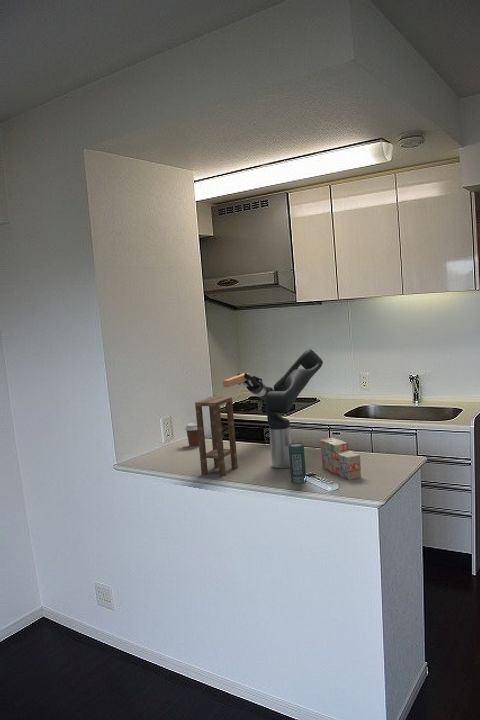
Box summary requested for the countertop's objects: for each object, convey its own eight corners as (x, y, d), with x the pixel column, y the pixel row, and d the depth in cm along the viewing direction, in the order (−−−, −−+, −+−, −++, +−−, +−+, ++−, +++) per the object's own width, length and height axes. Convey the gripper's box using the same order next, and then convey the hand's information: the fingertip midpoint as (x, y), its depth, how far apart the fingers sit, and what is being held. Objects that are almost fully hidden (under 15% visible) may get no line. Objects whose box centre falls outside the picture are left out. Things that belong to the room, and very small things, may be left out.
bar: (244, 379, 276) (244, 373, 275) (250, 379, 274) (249, 373, 274) (223, 387, 257) (222, 380, 257) (229, 387, 256) (228, 380, 256)
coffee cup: (204, 447, 293) (202, 424, 292) (187, 449, 292) (185, 426, 291) (203, 443, 302) (201, 421, 301) (186, 445, 301) (184, 423, 300)
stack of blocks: (361, 477, 226) (359, 447, 225) (348, 480, 224) (346, 450, 223) (334, 464, 246) (332, 436, 245) (321, 467, 244) (319, 439, 243)
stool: (237, 467, 253) (231, 397, 250) (223, 476, 242) (217, 402, 238) (216, 466, 258) (210, 396, 255) (201, 474, 247) (195, 402, 243)
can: (306, 478, 230) (303, 442, 229) (306, 483, 224) (303, 446, 223) (291, 478, 231) (288, 442, 230) (290, 483, 225) (288, 446, 224)
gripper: (268, 394, 279) (253, 382, 265) (243, 394, 286) (227, 382, 272) (270, 380, 282) (255, 367, 268) (245, 380, 288) (229, 368, 274)
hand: (241, 375), depth 270 cm, fingers closed on bar, 3 cm apart
